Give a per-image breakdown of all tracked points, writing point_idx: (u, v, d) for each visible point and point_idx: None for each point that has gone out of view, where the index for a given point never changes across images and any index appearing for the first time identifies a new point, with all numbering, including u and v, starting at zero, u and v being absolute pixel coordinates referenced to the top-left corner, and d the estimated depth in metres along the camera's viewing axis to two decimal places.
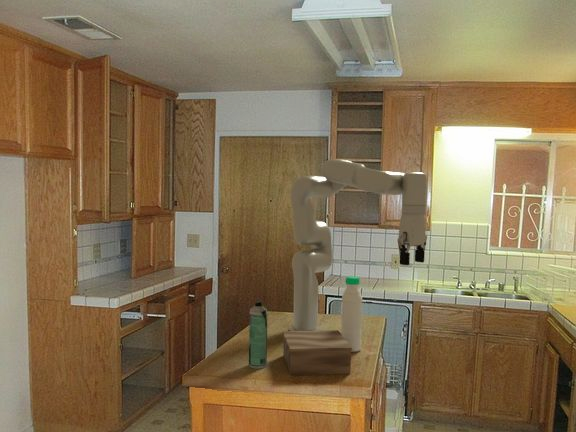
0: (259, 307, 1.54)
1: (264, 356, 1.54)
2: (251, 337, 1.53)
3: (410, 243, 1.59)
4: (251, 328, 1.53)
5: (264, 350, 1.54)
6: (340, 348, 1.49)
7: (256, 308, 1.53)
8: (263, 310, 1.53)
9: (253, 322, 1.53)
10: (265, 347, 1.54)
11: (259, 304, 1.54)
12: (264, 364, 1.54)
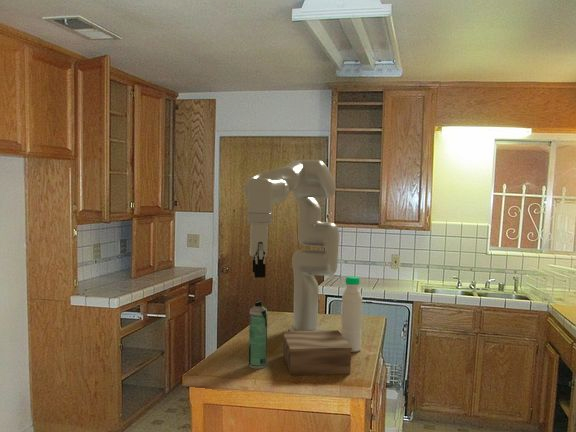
0: (259, 307, 1.54)
1: (264, 356, 1.54)
2: (251, 337, 1.53)
3: (266, 253, 1.49)
4: (251, 328, 1.53)
5: (264, 350, 1.54)
6: (340, 348, 1.49)
7: (256, 308, 1.53)
8: (263, 310, 1.53)
9: (253, 322, 1.53)
10: (265, 347, 1.54)
11: (259, 304, 1.54)
12: (264, 364, 1.54)
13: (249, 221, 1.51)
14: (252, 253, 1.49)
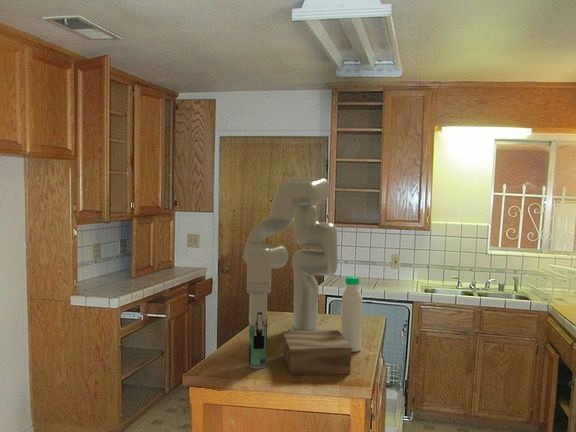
0: None
1: (264, 356, 1.54)
2: (251, 337, 1.53)
3: (265, 323, 1.51)
4: (251, 328, 1.53)
5: (264, 350, 1.54)
6: (340, 348, 1.49)
7: None
8: None
9: None
10: (265, 347, 1.54)
11: None
12: (264, 364, 1.54)
13: (248, 290, 1.52)
14: (251, 323, 1.50)
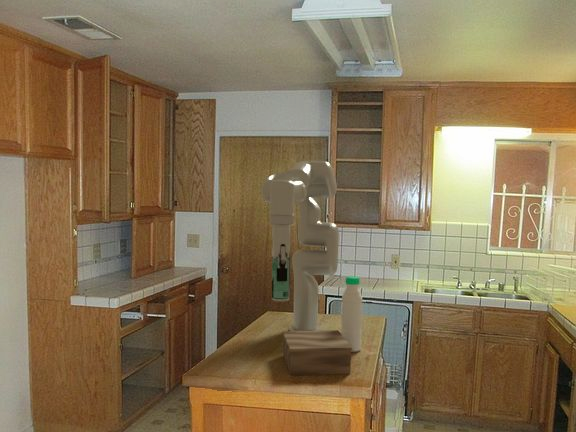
0: None
1: (287, 289, 1.54)
2: (274, 270, 1.53)
3: (288, 255, 1.51)
4: (274, 261, 1.53)
5: (287, 283, 1.54)
6: (340, 348, 1.49)
7: None
8: None
9: None
10: (288, 280, 1.54)
11: None
12: (287, 297, 1.54)
13: (271, 223, 1.52)
14: (275, 255, 1.50)
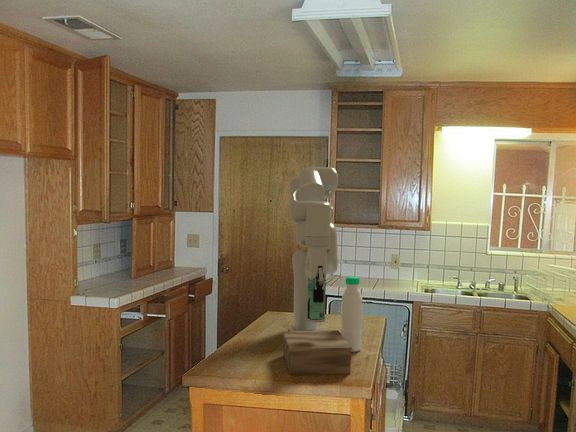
0: None
1: (323, 310, 1.55)
2: (310, 291, 1.55)
3: (325, 277, 1.52)
4: (310, 282, 1.55)
5: (323, 304, 1.55)
6: (340, 348, 1.49)
7: None
8: None
9: None
10: (324, 301, 1.56)
11: None
12: (323, 318, 1.56)
13: (308, 245, 1.54)
14: (312, 276, 1.51)
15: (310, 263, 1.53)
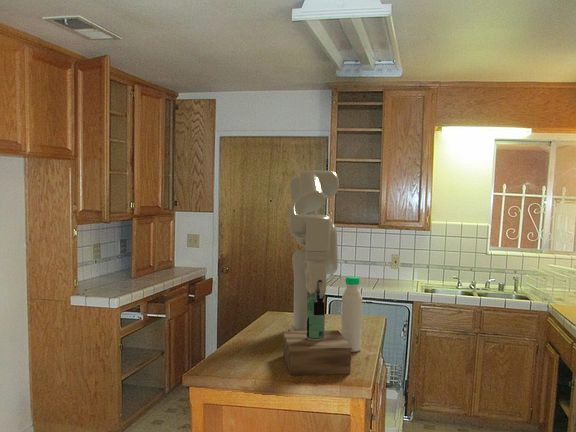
0: None
1: (322, 329, 1.56)
2: (309, 310, 1.56)
3: (325, 291, 1.52)
4: (309, 301, 1.55)
5: (322, 323, 1.56)
6: (340, 348, 1.49)
7: None
8: None
9: (311, 295, 1.55)
10: (323, 320, 1.56)
11: None
12: (322, 337, 1.56)
13: (308, 259, 1.54)
14: (312, 291, 1.52)
15: (310, 277, 1.53)
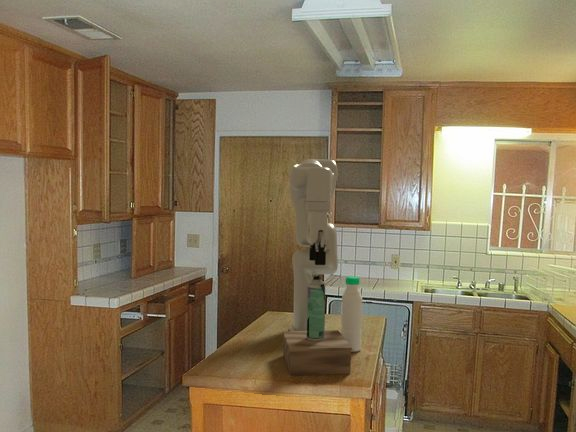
0: (318, 280, 1.56)
1: (322, 329, 1.56)
2: (310, 310, 1.56)
3: (326, 241, 1.52)
4: (310, 301, 1.56)
5: (322, 323, 1.56)
6: (340, 348, 1.49)
7: (315, 281, 1.56)
8: (322, 283, 1.55)
9: (312, 295, 1.55)
10: (323, 320, 1.56)
11: (317, 277, 1.56)
12: (322, 337, 1.56)
13: (309, 210, 1.53)
14: (313, 241, 1.51)
15: (311, 228, 1.52)
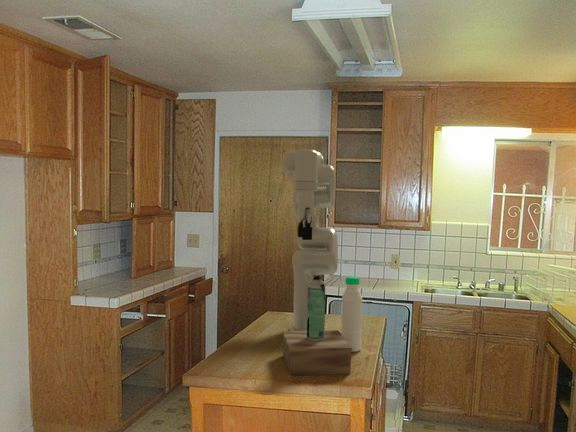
0: (318, 280, 1.56)
1: (322, 329, 1.56)
2: (310, 310, 1.56)
3: (312, 218, 1.64)
4: (310, 301, 1.55)
5: (322, 323, 1.56)
6: (340, 348, 1.49)
7: (315, 281, 1.55)
8: (322, 283, 1.55)
9: (312, 295, 1.55)
10: (323, 320, 1.56)
11: (317, 277, 1.56)
12: (322, 337, 1.56)
13: (296, 189, 1.66)
14: (300, 217, 1.63)
15: (298, 205, 1.65)
